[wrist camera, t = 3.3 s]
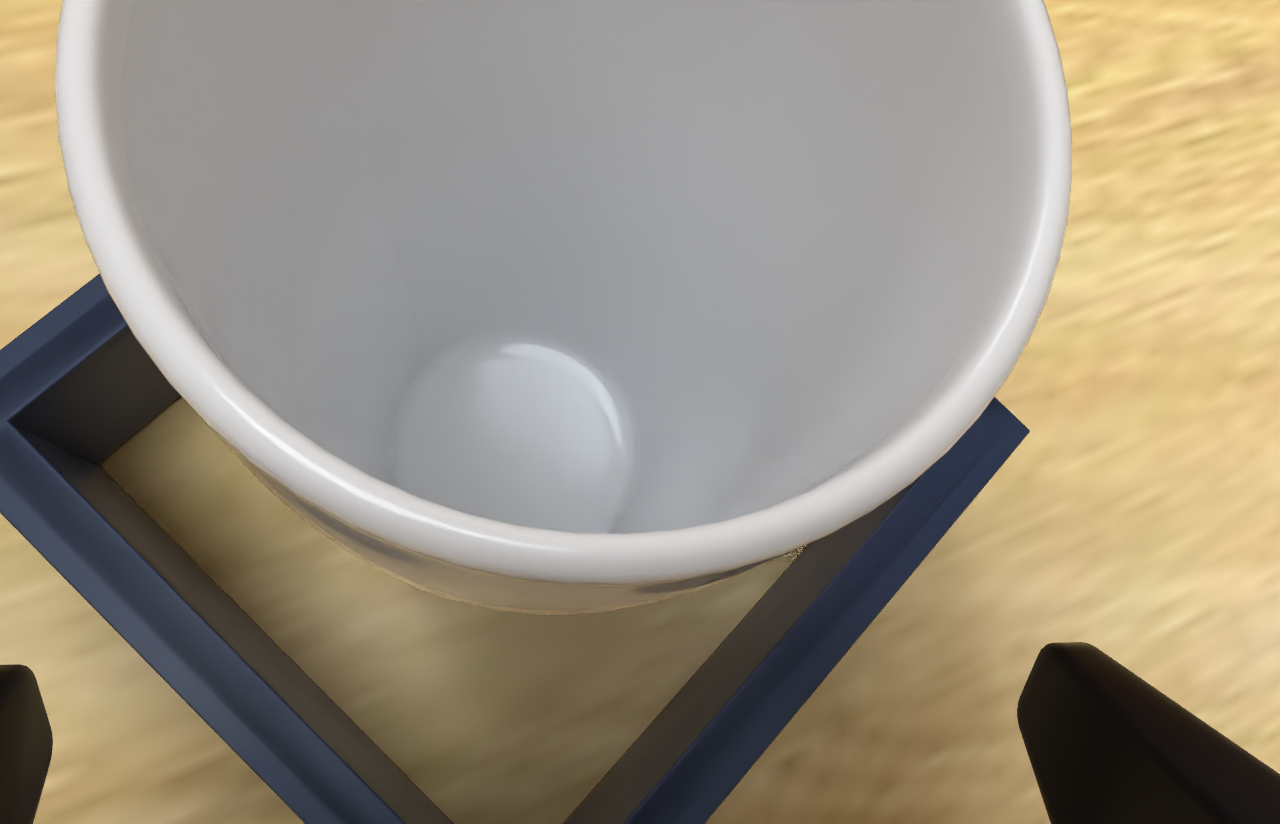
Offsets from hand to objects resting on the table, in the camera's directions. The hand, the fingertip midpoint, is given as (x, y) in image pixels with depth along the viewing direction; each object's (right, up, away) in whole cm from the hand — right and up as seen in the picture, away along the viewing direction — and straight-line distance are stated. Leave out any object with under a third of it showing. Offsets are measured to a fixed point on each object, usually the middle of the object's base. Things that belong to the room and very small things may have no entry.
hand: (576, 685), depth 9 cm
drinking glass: (-2, +1, +12) cm, 12 cm away
